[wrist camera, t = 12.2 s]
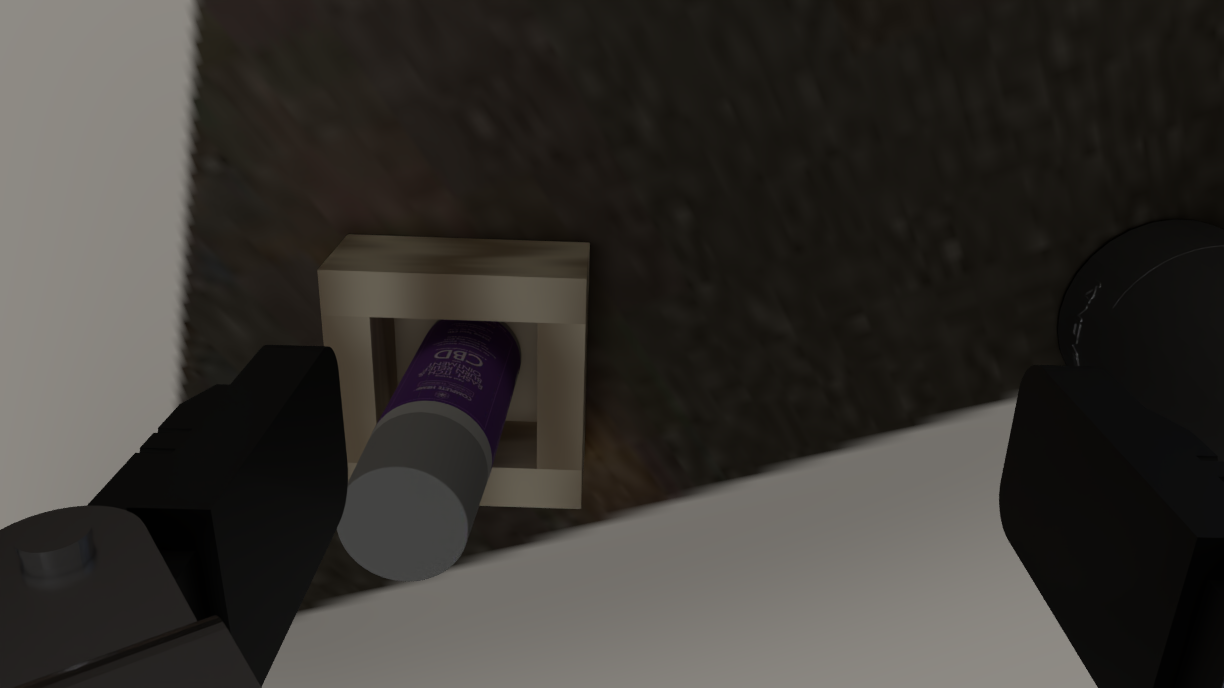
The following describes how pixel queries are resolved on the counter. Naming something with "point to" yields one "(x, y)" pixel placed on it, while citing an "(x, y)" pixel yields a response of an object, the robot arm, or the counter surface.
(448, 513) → the container
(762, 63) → the counter surface
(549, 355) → the socket block
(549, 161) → the counter surface
